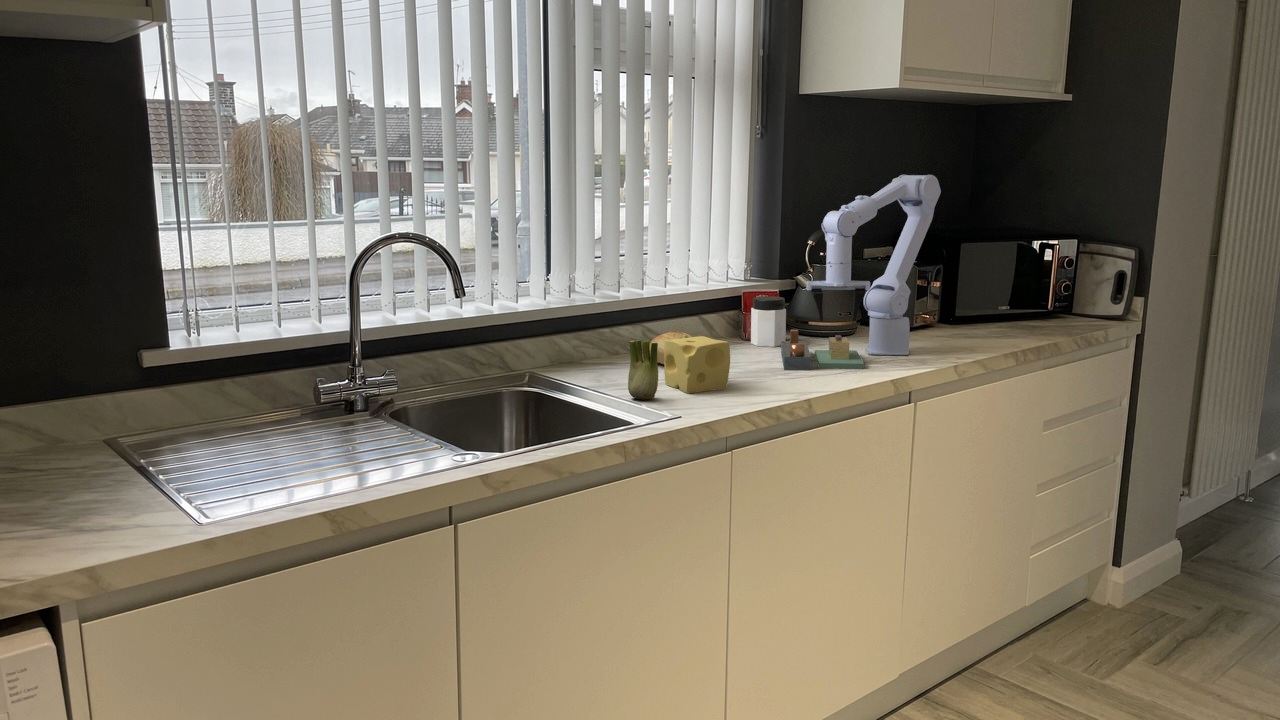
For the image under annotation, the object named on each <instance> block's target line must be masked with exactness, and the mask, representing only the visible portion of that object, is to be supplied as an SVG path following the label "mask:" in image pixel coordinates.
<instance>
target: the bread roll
mask: <svg viewBox="0 0 1280 720" xmlns="http://www.w3.org/2000/svg"><path fill="white" fill-rule="evenodd" d="M690 337H693V336H692V335H691V334H688V333H686V332H679V331H669V332H666V333H663V334H660V335H659V334H658V335H657V336H656V337H654V338H653V339H652V340H651V341H649V343H650V351H651V343H652V342H656V343H658V348H657V364H660V365H661V364H662V365H664V360H665V358H664V345H665V340H671V339H682V338H690Z"/></svg>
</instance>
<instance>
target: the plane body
mask: <svg viewBox="0 0 1280 720" xmlns="http://www.w3.org/2000/svg"><path fill="white" fill-rule="evenodd" d="M789 332H790V334H789V336H790V337H789V340H785V341H781V346H780V348H781V349H780V353H781V360H782V365H783V370H785V371H811V370H812V355H811V352H810V348H809V346H808V343H807V341H805V340H804V341H803V340H802V341H800V340H799V329H790V331H789Z"/></svg>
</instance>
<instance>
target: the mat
mask: <svg viewBox="0 0 1280 720" xmlns="http://www.w3.org/2000/svg"><path fill="white" fill-rule="evenodd" d="M814 358H815V360H816V362H817V363H816V364H817V367H818V369H836V370H837V369H840V370H841V369H843V370H845V369H847V370H848V369H854V370H857V369H858V370H859V369H860V370H861V369H862V370H864V369H865V363H864V361H863V359H862V358H861V355H860V354H859V352H858V350H853V349H852V350H850V349H849V360H833V359H831V358H830V355H829V349H828V350H826V349H815V350H814Z"/></svg>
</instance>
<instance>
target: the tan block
mask: <svg viewBox="0 0 1280 720" xmlns="http://www.w3.org/2000/svg"><path fill="white" fill-rule="evenodd" d="M828 350H829V355H830V358H831V359H833V360H849V350H850V341H849V339H848V338H847V337H846V336H845V337H844V336H843V337H842V335H840V334H839V335H838V334H837V335H836V334H835V336H834V337H833V336H832V337H831V336H829V337H828Z"/></svg>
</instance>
